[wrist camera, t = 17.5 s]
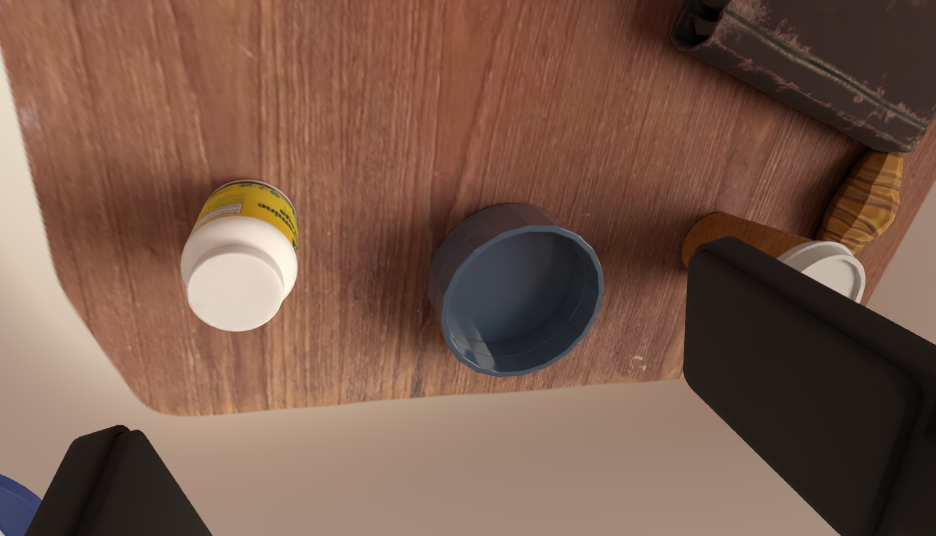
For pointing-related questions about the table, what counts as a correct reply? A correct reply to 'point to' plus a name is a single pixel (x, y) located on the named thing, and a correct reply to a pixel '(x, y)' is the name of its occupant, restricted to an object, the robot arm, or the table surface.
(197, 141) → the table surface
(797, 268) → the disposable coffee cup
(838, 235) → the croissant
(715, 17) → the diary
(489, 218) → the fruit bowl
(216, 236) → the pill bottle
